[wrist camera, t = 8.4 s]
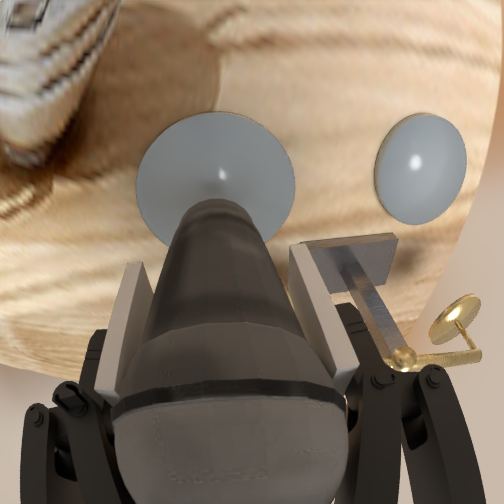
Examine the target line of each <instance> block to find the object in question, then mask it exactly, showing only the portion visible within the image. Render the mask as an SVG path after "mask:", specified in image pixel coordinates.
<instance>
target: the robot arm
mask: <svg viewBox="0 0 504 504" xmlns="http://www.w3.org/2000/svg"><path fill="white" fill-rule="evenodd" d="M288 292H289V295H290V298H291V301H292V304H293V307H294V310H295V314H296V316H297V319H298V321H299V323H300V325H301V328H302V330H303V332H304V335H305V337H306V339H307V342H308V344H309V345H310V346H311V347H312V348H313V350H314V351H315V352H316V353H317V355H318V357H319V358H320V360H321V362H322V363H323V365H324V367H325V368H326V370H327V372H328V373H329V375H330V377H331V378H332V381H333V384H334V386H335V389H336V390H337V391H338V392H339V393H340V394H341V395H342V396H344V395H346V399H347V402H348V403H347V405H346V414H345V420H346V424H347V429H348V442H349V452H348V460H347V467H346V471H345V474H344V477H343V480H342V483H341V486H340V489H339V491H338V493H337V494H336V496H335V502H334V504H397V502H398V494H399V481H400V465H401V443H402V447H403V452H404V456H405V461H406V465H407V470H408V475H409V480H410V485H411V491H412V497H413V502H414V504H486V499H485V494H484V489H483V484H482V479H481V474H480V471H479V466H478V462H477V458H476V455H475V451H474V447H473V444H472V440H471V437H470V434H469V431H468V427H467V424H466V421H465V418H464V415H463V412H462V410H461V407H460V404H459V401H458V398H457V396H456V393H455V391H454V388H453V385H452V383H451V380H450V378H449V376H448V374H447V373H446V371H445V369H444V368H442V367H441V366H439V365H436V364H428V365H426V366H424V367H423V368H422V370H421V371H420V372H402V371H397V370H394V369H393V368H392V367H390V366H389V365H387V364H386V363H385V362H384V361H383V359H382V357H381V355H380V353H379V351H378V348H377V346H376V344H375V342H374V340H373V338H372V336H371V334H370V332H369V331H368V328H367V326H366V324H365V323H364V320H363V318H362V316H361V314H360V312H359V310H358V309H357V308H356V307H354V306H353V305H352V304H351V303H350V302H349V303H343V304H338V305H334V303H333V301H332V299H331V297H330V294H329V292H328V290H327V288H326V286H325V283H324V281H323V279H322V277H321V275H320V273H319V271H318V269H317V266H316V264H315V262H314V260H313V258H312V256H311V254H310V252H309V250H308V248H307V246H306V244H297V245H290V249H289V272H288ZM153 296H154V294H153V291H152V288H151V286H150V283H149V280H148V277H147V274H146V271H145V268H144V265H143V262H134V263H128V264H127V267H126V269H125V272H124V276H123V279H122V282H121V285H120V288H119V291H118V294H117V298H116V301H115V304H114V308H113V311H112V315H111V319H110V322H109V326H108V329H101V330H96V331H95V333H94V334H93V336H92V337H91V339H90V341H89V345H88V348H87V352H86V356H85V360H84V363H83V367H82V371H81V376H80V380H79V384H77V383H76V382H73V381H65V382H63V383H61V384H60V385H59V386H58V387H57V388H56V389H55V391H54V393H53V397H52V401H53V402H54V403H55V404H56V405H58V407H54V408H49V409H48V408H47V407H45V406H44V405H43V404H40V403H36V404H33V405H32V406H30V407H29V408H28V410H27V411H26V414H25V419H24V427H23V437H22V448H21V464H20V499H21V504H136V503H135V502H134V500H133V499H132V497H131V495H130V494H129V492H128V490H127V489H126V487H125V484H124V482H123V479H122V477H121V474H120V471H119V468H118V463H117V457H116V451H115V434H114V433H113V428H112V421H111V408H113V407H114V406H115V405H116V404H117V403H118V402H119V397H120V391H121V386H122V383H123V381H124V378H125V375H126V373H127V370H128V368H129V365H130V363H131V360H132V358H133V357H134V355H135V354H136V353H137V352H138V349H139V345H140V342H141V338H142V334H143V331H144V327H145V323H146V320H147V316H148V313H149V310H150V306H151V303H152V300H153Z"/></svg>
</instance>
